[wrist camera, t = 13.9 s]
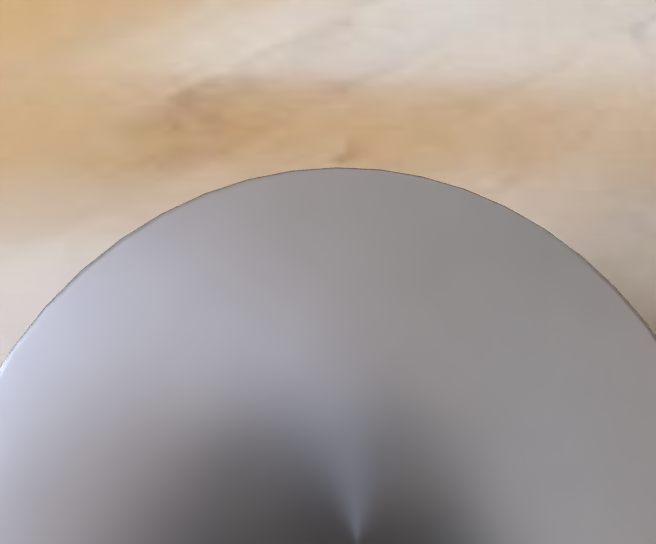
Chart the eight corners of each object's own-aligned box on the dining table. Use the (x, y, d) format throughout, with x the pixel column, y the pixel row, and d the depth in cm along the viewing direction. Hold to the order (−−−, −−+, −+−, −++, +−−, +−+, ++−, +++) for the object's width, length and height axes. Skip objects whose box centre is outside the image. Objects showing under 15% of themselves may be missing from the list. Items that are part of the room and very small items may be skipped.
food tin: (433, 393, 16) (868, 428, 4) (333, 557, 15) (513, 1440, 2) (290, 293, 16) (269, 39, 4) (180, 442, 15) (-309, 689, 3)
